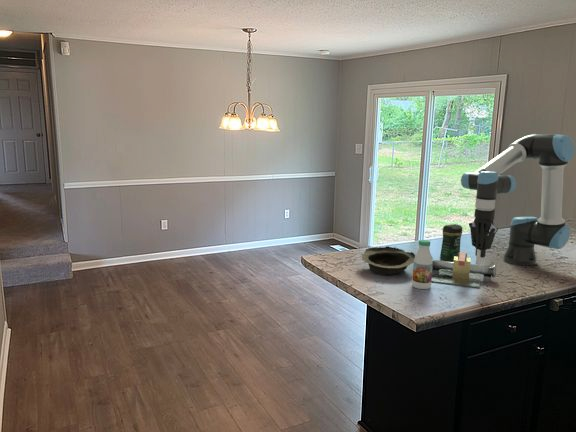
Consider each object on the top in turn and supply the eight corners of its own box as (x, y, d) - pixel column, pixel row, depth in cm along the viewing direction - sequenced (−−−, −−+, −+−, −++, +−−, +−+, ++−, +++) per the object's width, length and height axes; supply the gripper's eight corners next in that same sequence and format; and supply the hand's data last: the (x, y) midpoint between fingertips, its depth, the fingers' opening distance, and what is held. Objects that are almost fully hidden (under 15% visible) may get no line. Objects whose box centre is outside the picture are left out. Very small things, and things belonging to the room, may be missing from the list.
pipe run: (493, 275, 214) (495, 257, 213) (495, 290, 194) (497, 270, 193) (421, 266, 226) (423, 249, 224) (416, 280, 206) (417, 261, 204)
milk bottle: (409, 283, 201) (412, 238, 197) (426, 283, 202) (430, 238, 198) (415, 289, 193) (419, 243, 190) (433, 289, 194) (437, 243, 190)
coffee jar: (450, 263, 232) (453, 227, 229) (437, 259, 239) (440, 224, 235) (462, 260, 237) (465, 225, 234) (449, 257, 244) (452, 222, 240)
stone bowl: (399, 261, 233) (401, 244, 231) (423, 281, 210) (426, 262, 207) (352, 263, 228) (354, 245, 226) (372, 283, 204) (374, 263, 202)
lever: (458, 257, 212) (458, 251, 211) (466, 258, 210) (467, 252, 210) (456, 266, 197) (457, 260, 197) (465, 267, 196) (466, 261, 196)
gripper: (504, 211, 188) (498, 267, 193) (478, 206, 200) (472, 259, 204) (492, 212, 185) (486, 269, 189) (465, 207, 196) (460, 261, 201)
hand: (479, 264), depth 197 cm, fingers closed
